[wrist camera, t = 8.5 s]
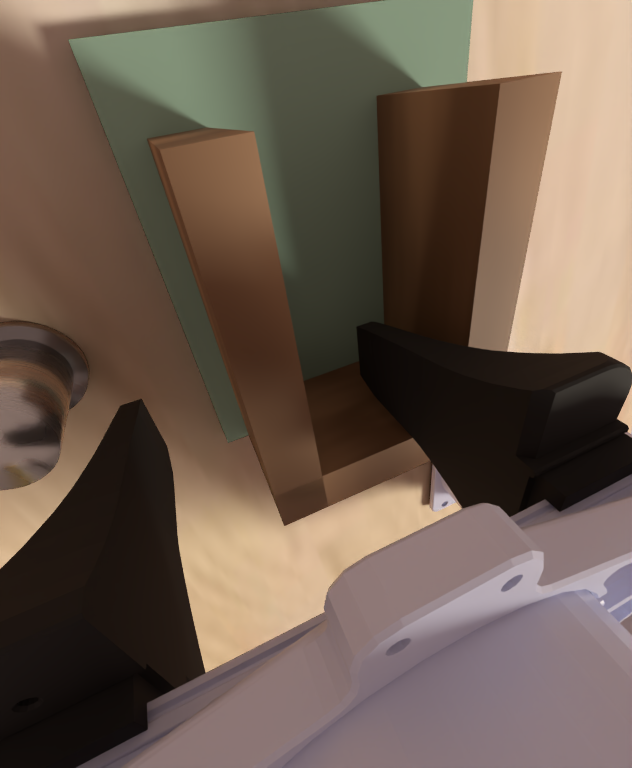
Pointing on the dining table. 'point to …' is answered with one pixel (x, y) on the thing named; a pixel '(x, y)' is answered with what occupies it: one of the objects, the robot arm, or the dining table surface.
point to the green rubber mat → (278, 148)
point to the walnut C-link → (399, 269)
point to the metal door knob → (35, 398)
